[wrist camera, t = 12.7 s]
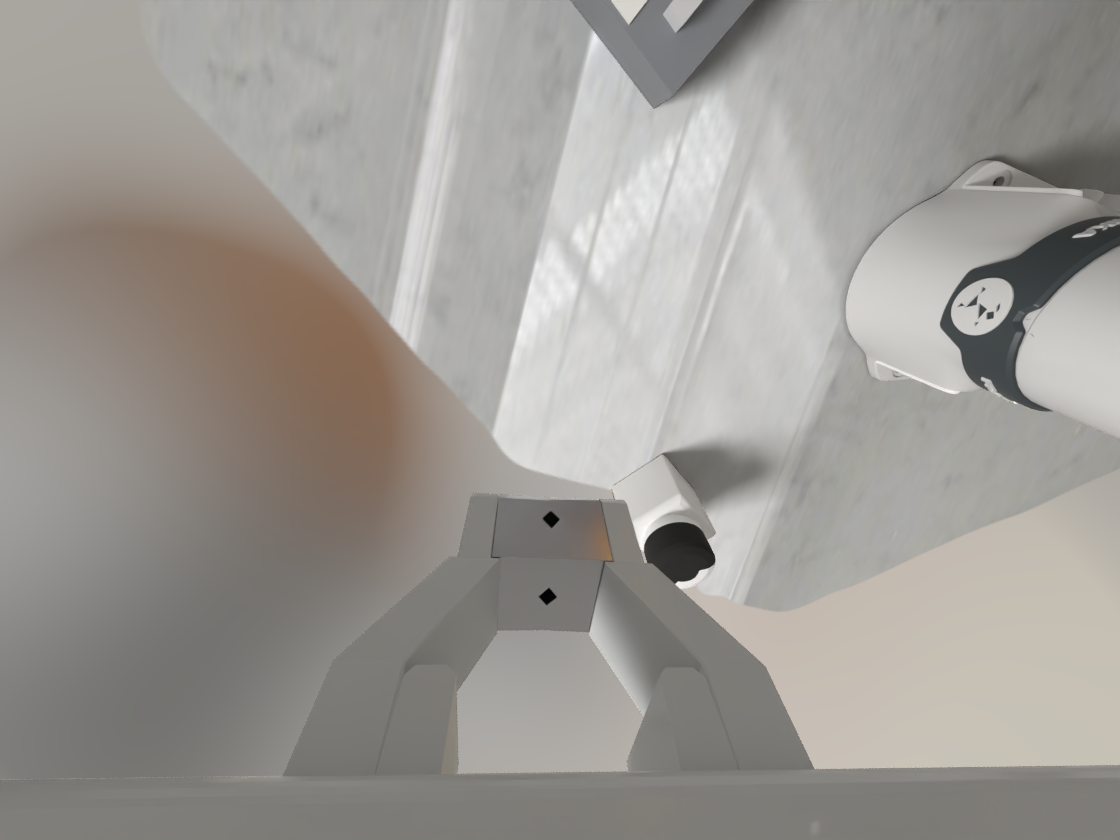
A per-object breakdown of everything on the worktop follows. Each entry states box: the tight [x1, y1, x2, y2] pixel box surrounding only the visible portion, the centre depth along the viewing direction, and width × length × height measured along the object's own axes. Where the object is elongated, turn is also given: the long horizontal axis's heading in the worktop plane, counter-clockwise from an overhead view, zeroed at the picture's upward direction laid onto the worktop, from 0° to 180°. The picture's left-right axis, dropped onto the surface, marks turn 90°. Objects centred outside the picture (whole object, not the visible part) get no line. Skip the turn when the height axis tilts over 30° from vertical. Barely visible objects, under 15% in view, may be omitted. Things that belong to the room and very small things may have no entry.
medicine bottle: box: [612, 455, 716, 589], centre depth 43 cm, size 7×7×12 cm
